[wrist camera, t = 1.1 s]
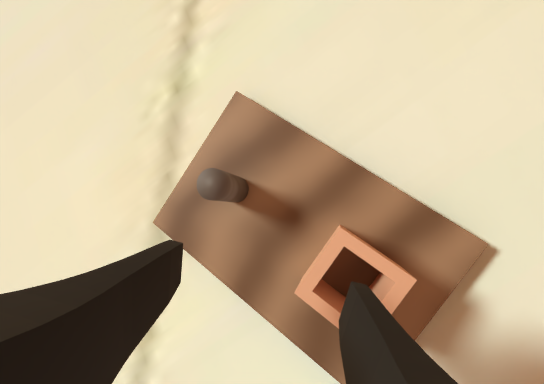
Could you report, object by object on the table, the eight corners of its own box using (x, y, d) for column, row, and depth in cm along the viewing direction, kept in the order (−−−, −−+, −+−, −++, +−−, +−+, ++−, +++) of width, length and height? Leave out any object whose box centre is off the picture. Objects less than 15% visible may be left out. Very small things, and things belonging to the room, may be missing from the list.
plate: (480, 242, 18) (540, 255, 13) (363, 394, 19) (374, 465, 14) (240, 96, 23) (212, 61, 18) (160, 222, 24) (111, 225, 19)
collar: (400, 265, 18) (417, 280, 14) (359, 321, 19) (365, 349, 15) (339, 224, 20) (340, 227, 16) (302, 277, 20) (294, 293, 16)
